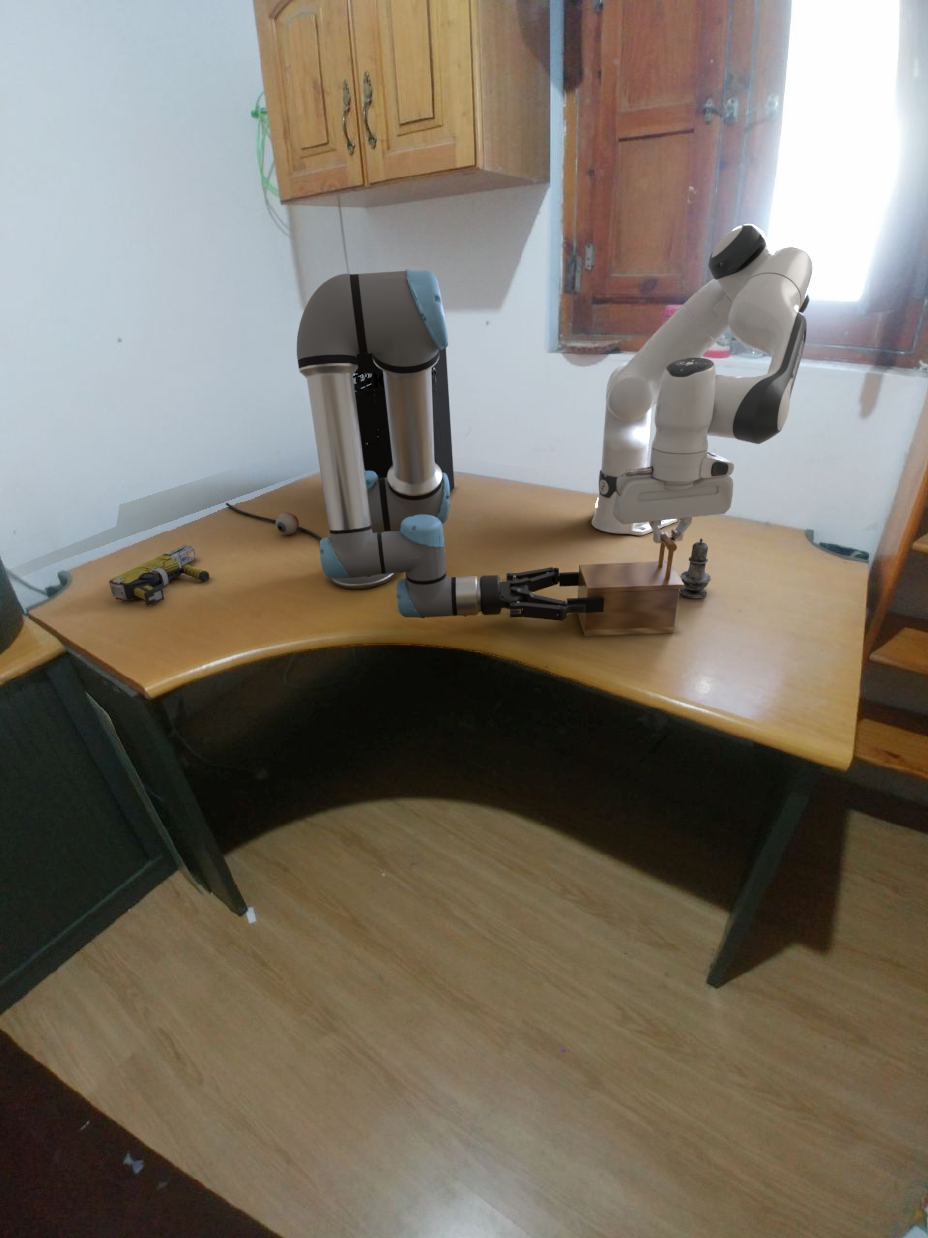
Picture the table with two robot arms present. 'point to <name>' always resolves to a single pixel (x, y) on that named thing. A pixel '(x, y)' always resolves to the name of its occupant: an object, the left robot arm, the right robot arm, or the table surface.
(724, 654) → the table surface
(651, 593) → the chest
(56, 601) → the table surface
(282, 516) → the eyeball
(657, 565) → the lid
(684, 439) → the right robot arm
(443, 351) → the black computer tower
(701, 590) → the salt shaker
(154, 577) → the toy gun
